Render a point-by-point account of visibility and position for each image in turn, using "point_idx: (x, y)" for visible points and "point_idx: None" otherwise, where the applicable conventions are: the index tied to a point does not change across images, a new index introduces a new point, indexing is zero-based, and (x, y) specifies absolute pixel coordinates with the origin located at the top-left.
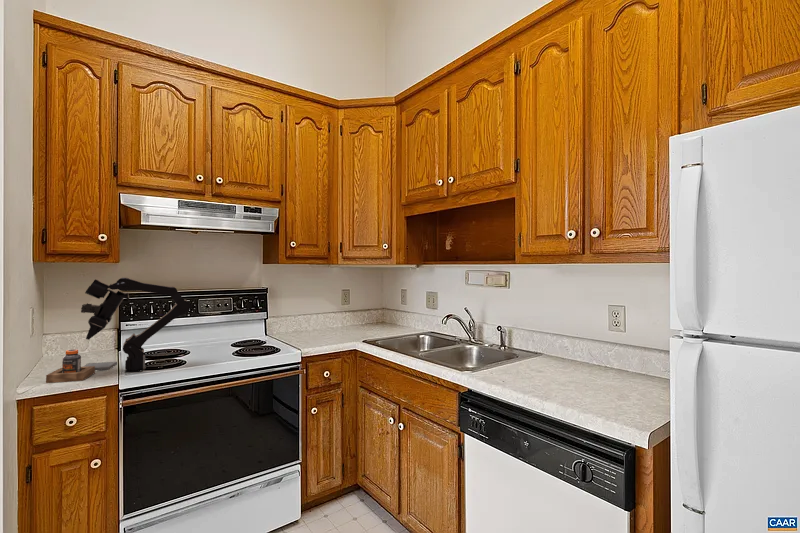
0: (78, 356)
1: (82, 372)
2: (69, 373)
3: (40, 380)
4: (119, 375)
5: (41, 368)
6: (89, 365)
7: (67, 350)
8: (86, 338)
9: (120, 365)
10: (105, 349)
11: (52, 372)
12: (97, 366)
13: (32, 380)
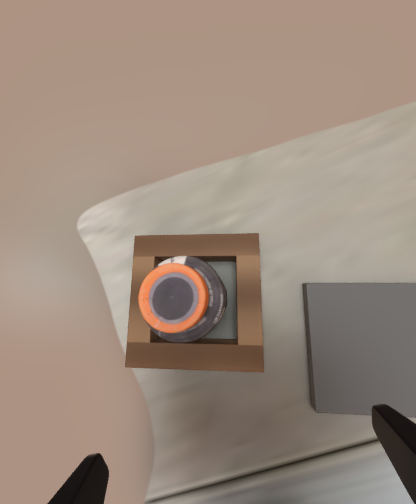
0: (165, 337)
1: (137, 361)
2: (136, 312)
3: (188, 209)
4: (187, 494)
5: (387, 125)
6: (372, 305)
7: (174, 269)
8: (85, 463)
9: None
10: None
11: (176, 238)
12: (342, 351)
13: (196, 185)
